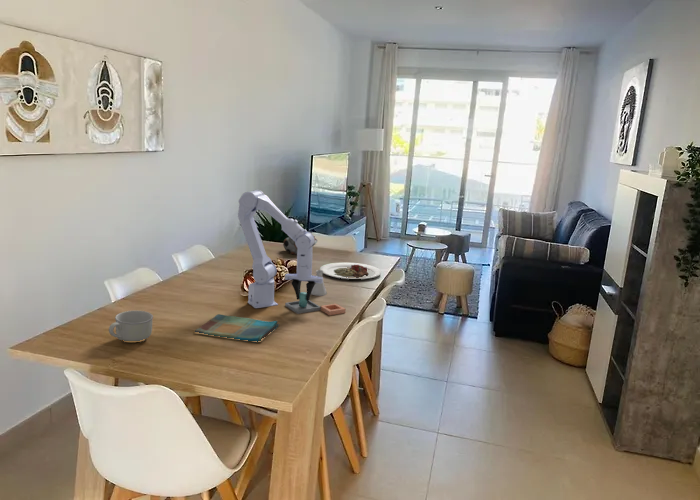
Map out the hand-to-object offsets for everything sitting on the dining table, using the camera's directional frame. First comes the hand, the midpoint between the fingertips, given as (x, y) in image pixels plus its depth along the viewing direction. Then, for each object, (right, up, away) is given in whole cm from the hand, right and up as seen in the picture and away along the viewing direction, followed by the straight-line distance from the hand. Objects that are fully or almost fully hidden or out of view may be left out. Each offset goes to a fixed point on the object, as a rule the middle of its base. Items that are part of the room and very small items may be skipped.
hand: (303, 299), depth 198 cm
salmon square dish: (+11, -5, -1) cm, 12 cm away
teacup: (-50, -10, -37) cm, 63 cm away
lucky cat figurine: (-10, +17, +94) cm, 96 cm away
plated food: (+18, +7, +56) cm, 59 cm away
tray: (0, -4, +1) cm, 4 cm away
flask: (+5, 0, +20) cm, 21 cm away
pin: (0, -3, +1) cm, 3 cm away
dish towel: (-20, -9, -23) cm, 32 cm away
